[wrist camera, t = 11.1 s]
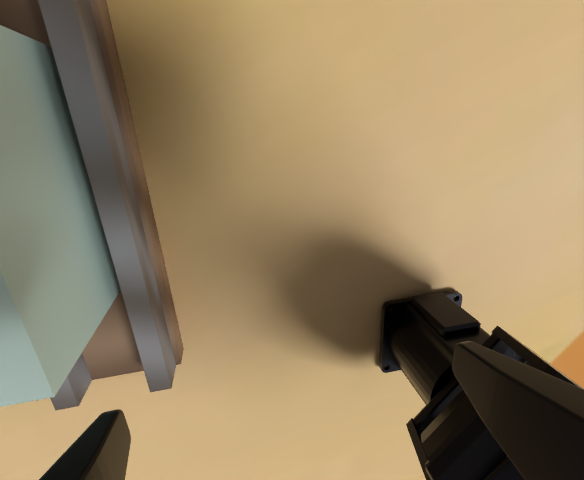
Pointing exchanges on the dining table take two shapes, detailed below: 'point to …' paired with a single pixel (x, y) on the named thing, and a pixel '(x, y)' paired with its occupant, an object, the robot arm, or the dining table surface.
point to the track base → (108, 195)
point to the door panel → (44, 229)
